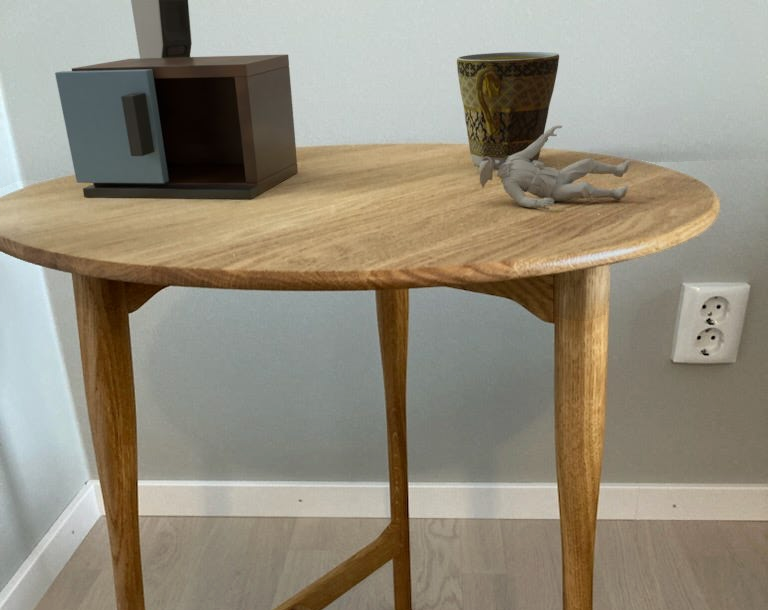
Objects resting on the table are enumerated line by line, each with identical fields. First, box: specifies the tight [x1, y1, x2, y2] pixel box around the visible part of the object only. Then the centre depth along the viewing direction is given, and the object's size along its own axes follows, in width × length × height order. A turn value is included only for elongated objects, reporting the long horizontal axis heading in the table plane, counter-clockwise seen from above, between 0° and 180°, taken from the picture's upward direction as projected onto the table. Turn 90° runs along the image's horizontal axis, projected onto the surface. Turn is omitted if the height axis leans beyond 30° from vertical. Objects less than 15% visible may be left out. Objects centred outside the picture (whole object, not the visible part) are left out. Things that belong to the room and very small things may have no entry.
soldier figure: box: [478, 124, 631, 210], centre depth 77 cm, size 8×5×12 cm
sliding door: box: [54, 69, 169, 184], centre depth 84 cm, size 9×4×10 cm, turn 76°
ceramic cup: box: [456, 51, 560, 170], centre depth 91 cm, size 13×10×10 cm
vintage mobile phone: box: [130, 0, 192, 58], centre depth 97 cm, size 4×5×25 cm
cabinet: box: [71, 54, 299, 200], centre depth 88 cm, size 17×13×11 cm
